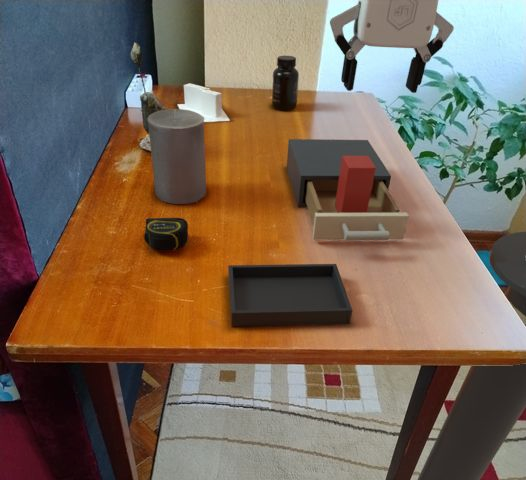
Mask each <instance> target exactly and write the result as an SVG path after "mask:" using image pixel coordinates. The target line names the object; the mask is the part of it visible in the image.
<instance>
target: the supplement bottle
mask: <svg viewBox="0 0 526 480" xmlns="http://www.w3.org/2000/svg"><path fill="white" fill-rule="evenodd" d="M276 66H277V67H276V68H275V69H274V70H273V72H272V87H271V89H272V92H271V93H272V94H271V106H272V108H273V109H274V110H277V111H281V112H289V111H290V112H291V111H293V110H296V108H297V106H298V93H299V81H300V80H299V79H300V73H299V71H298V70H297V69H296V66H297V57H296V56H293V55H279V56H277V58H276Z"/></svg>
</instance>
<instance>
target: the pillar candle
mask: <svg viewBox="0 0 526 480" xmlns="http://www.w3.org/2000/svg"><path fill="white" fill-rule="evenodd" d="M148 127H149V136H150V145H151V151H150V156H151V165H152V176H153V184H154V193H155V196H156V197H157V199H158V200H160V201H161V202H164V203H167V204H171V205H189V204H193V203H197V202H199V201H200V200H201V199H202V198H204V197H205V196H206V195H207V176H206V175H207V174H206V173H207V172H206V171H207V169H206V144H205V122H204V117H203V116H202V115H200V114H198V113H196V112H194V111H190V110H183V109H179V108H170V109H166V110H161V111H157V112H154V113H152V114H150V115H149V116H148Z"/></svg>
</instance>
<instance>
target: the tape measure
mask: <svg viewBox="0 0 526 480" xmlns="http://www.w3.org/2000/svg"><path fill="white" fill-rule="evenodd" d="M188 231H189V223H188V221H187V220H186V219H185V218H181V217H149V218H145V228H144V234H143V238H144V241H145V243H146V244H147V245H148V247H150V248H151V249H152V250H154V251H158V252H172V251H177V250H180V249H182V248H184V247H185V246H186V245H187V244H188V240H189V232H188Z"/></svg>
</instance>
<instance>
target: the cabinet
mask: <svg viewBox="0 0 526 480" xmlns="http://www.w3.org/2000/svg"><path fill="white" fill-rule="evenodd" d="M287 143H288V144H287V155H286V157H287V158H286V170H287V174H288V178H289V181H290V185H291V188H292V191H293V192H292V193H293V195H294V199H295V202H296V205H297V207H298V208H308V207H307V204H306V201H305V198H304V185H305V180H339V174H340V168H341V161H342V156H369V158H370V159H371V161H372V163H373V164H374V166H375V167H376V170H375V175H374V180H382V181H383V183H384V184H385V186H386V188H387V189H388V190H389V188H390V184H391V179H392V174H391V173H390V172H389V170H388V169H387V167H386V165H385V164H384V162H383V161H382V160H381V158H380V156H379V155H378V154H377V151H376V150H375V149H374V147H373V145H372V144H371V143H370V141H369V140H368V139H313V138H312V139H309V138H305V139H304V138H302V139H301V138H289V139H288V142H287Z"/></svg>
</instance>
